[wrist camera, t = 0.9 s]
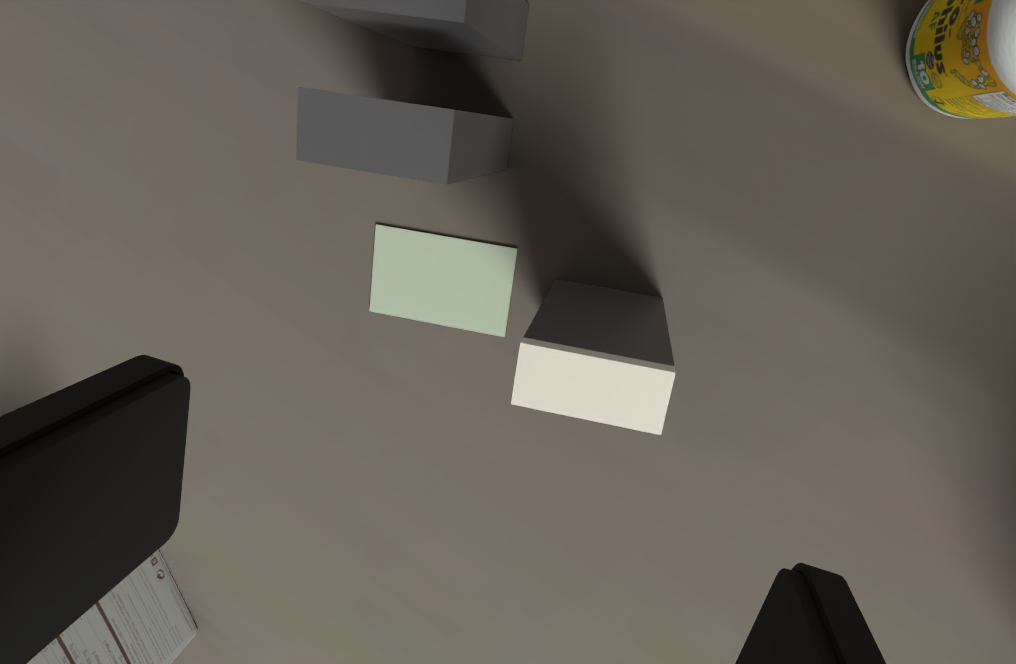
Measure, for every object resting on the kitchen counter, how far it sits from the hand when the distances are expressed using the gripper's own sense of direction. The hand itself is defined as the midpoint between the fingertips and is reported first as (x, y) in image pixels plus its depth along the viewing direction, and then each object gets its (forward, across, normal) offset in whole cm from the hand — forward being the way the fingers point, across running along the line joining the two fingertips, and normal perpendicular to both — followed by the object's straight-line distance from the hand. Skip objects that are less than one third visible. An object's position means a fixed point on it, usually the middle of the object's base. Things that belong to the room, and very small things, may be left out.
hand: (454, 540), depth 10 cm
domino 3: (+22, -2, +2) cm, 22 cm away
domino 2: (+22, +7, -4) cm, 23 cm away
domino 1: (+22, +7, -9) cm, 24 cm away
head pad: (+22, +6, +2) cm, 22 cm away
